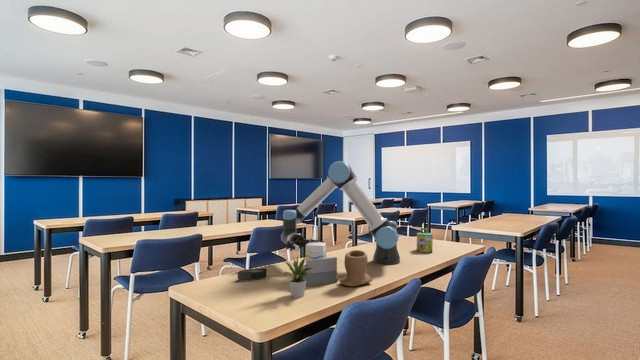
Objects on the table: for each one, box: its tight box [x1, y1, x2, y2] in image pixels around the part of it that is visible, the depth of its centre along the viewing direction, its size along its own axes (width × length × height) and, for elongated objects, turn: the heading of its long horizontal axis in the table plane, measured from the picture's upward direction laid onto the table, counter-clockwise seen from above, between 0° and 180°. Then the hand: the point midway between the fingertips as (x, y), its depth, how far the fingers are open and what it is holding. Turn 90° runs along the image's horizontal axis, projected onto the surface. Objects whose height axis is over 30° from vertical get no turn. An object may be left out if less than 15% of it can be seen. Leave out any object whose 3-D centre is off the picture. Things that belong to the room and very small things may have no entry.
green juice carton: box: [416, 227, 434, 254], centre depth 225 cm, size 9×9×15 cm
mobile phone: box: [234, 268, 268, 283], centre depth 162 cm, size 5×3×15 cm
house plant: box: [282, 255, 315, 299], centre depth 138 cm, size 14×14×16 cm
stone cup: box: [338, 249, 373, 287], centre depth 154 cm, size 15×12×15 cm
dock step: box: [301, 256, 338, 287], centre depth 162 cm, size 14×16×11 cm
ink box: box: [305, 241, 327, 268], centre depth 162 cm, size 8×8×12 cm
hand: (311, 247), depth 166 cm, fingers open, 13 cm apart
